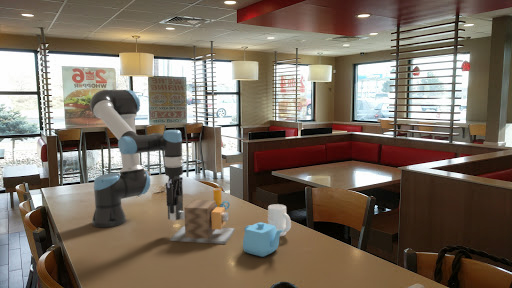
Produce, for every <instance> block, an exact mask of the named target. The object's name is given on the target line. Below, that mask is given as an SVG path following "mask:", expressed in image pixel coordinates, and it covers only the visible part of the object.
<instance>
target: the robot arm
mask: <svg viewBox="0 0 512 288" xmlns="http://www.w3.org/2000/svg"><path fill="white" fill-rule="evenodd" d="M89 107H90V111H91V113H92V114H93V115H94V116H95V117H96V118H97V119H100V120H101V121H102V122H103V123H104V124H105V126H106V127H107V128H108V129H109V131H110V133H112V134H113V135H114V136H115V138H116V139H117V140H118V141H117V146H118V149H119V152H120V158H121V163H122V168H121V169H120V172H119V173H118V172H112V173H111V172H109V173H104V174H101V175H99V176H97V177H96V178H95V179H94V181H93V190H94V191H93V192H94V204H95V206H94V207H95V209H94V213H93V216H92V221H91V222H92V225H93V227H96V228H109V227H110V228H111V227H117V226H119V225H122V224H124V223H125V222H126V221H127V218H126V213H125V212H124V211H125V210H124V209H123V206H122V200H123V199H128V198H133V197H139V196H142V195H145V194H146V193H147V192H149V189H150V188H151V177H150V174H149V173H148V171H146V170H145V168H144V167H143V166H142V165H141V159H140V154H143V153H151V152H157V151H158V152H160V151H162V152H163V153H164V166H165V167H164V174H165V176H167V177H168V181H167V182H165V191H166V195H165V196H166V206H167V207H168V206H169V209H170V219H169V221H178V220H177V219H176V205H175V195H176V194H182V195H183V196H184V192H183V177H181V176H182V175H184V169H183V167H184V166H182V165H183V161H184V158H183V144H182V143H183V138H182V132H181V131H180V130H179V129H168V130H164V131H163V133H159V132H157V133H151V134H137V130H136V129H137V128H136V123H135V118H137V115H138V114H137V113H138V112H139V111H140V109H141V108H140V107H141V102H140V98H139V96H138V94H137V93H136V92H135V91H134V90H132V89H131V90H129V89H102V90H99V91H97V92H96V93H95V94H93V96H92V97H91V100H90V102H89Z"/></svg>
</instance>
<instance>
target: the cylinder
mask: <svg viewBox="0 0 512 288" xmlns="http://www.w3.org/2000/svg"><path fill="white" fill-rule="evenodd" d="M212 192H213V193H212V196H213V197H212V198H213V200H210V201H215V203H216V207H225V212H227V211H226V210H227V209H229V208H230V201H227V200H224V201H223V198H222V197H223V196H222V188H219V187H216V188H213V189H212ZM226 204H227V206H226Z"/></svg>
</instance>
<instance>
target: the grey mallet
mask: <svg viewBox="0 0 512 288" xmlns="http://www.w3.org/2000/svg"><path fill="white" fill-rule="evenodd" d="M175 205H176V219H177V220H176V221H180V220H185V213H184V194H183V195H182V194H176V195H175ZM167 219H168V220H170V209H169V206H167ZM228 220H229V212H227V211H225V212H224V213H223V214H222V221H225V222H228ZM210 221H212V219H211V212H210Z"/></svg>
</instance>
